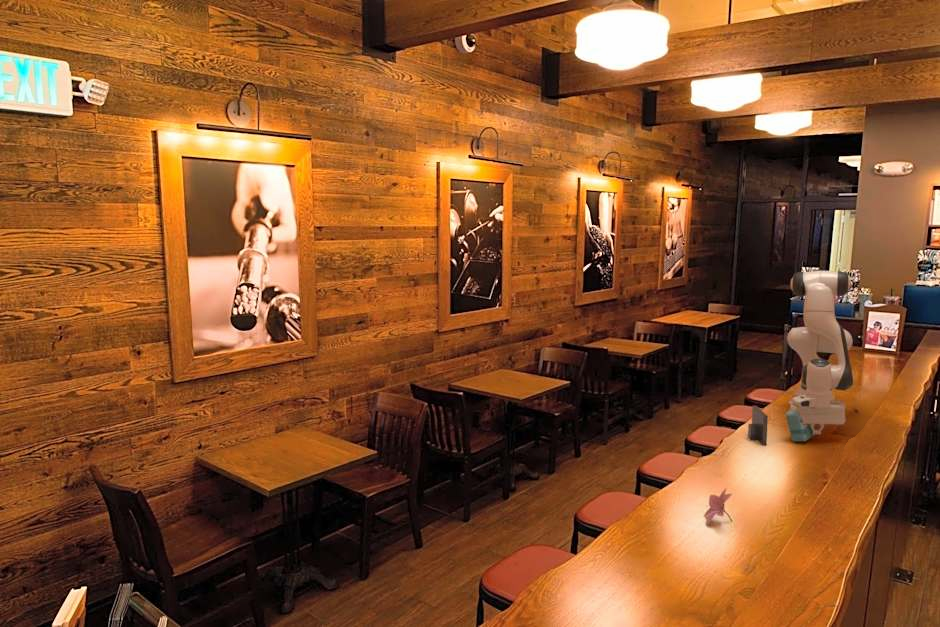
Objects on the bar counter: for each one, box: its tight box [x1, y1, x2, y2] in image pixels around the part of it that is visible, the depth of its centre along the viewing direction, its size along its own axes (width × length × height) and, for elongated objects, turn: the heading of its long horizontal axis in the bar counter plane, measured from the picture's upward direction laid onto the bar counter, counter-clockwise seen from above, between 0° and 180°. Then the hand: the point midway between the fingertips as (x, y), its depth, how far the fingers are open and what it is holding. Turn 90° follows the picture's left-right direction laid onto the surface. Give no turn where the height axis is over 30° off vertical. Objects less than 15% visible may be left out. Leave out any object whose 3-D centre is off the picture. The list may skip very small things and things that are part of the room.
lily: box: [703, 487, 733, 527], centre depth 184 cm, size 12×12×10 cm
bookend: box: [747, 405, 769, 446], centre depth 252 cm, size 14×4×12 cm, turn 172°
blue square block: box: [785, 410, 815, 443], centre depth 251 cm, size 12×4×12 cm, turn 133°
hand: (815, 434), depth 249 cm, fingers closed
